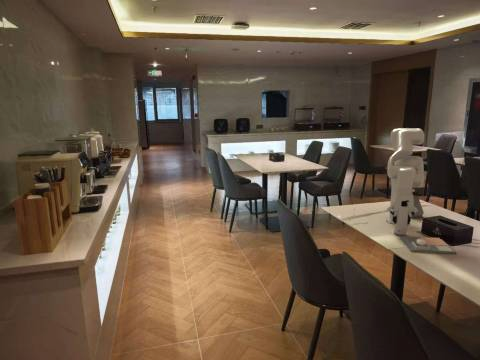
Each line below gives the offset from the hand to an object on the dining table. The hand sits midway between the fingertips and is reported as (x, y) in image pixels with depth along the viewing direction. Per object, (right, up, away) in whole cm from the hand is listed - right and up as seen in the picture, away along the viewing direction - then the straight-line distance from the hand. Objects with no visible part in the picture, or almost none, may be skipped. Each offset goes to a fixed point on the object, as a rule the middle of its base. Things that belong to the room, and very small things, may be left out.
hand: (401, 222), depth 185 cm
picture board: (+6, -10, -14) cm, 18 cm away
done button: (+1, -8, -19) cm, 21 cm away
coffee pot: (+24, +1, +38) cm, 44 cm away
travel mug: (0, -7, +1) cm, 7 cm away
